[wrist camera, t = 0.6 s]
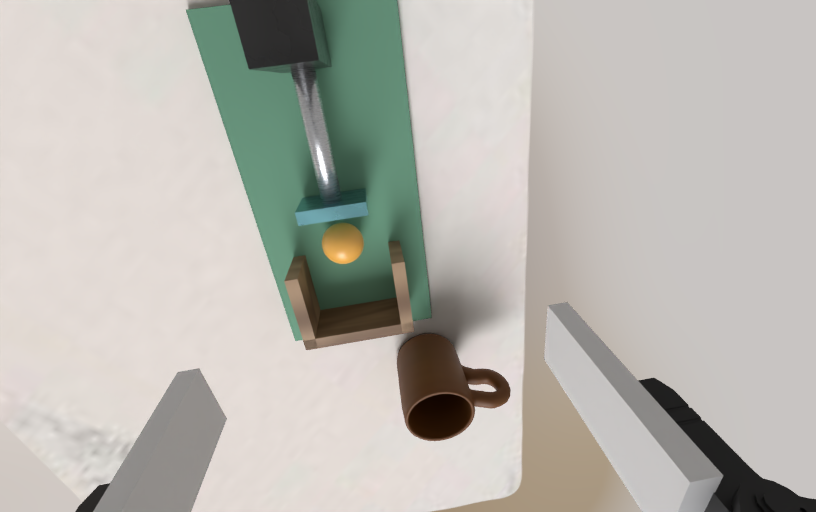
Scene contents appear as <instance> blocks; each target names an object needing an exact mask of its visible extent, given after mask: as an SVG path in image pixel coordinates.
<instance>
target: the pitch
mask: <svg viewBox="0 0 816 512" xmlns="http://www.w3.org/2000/svg"><path fill="white" fill-rule="evenodd" d="M316 1H317V3H318V5H319V6H320V8H321V12H322V18H323V23H324V28H325V33H326V39H327V44H328V49H329V54H330V60H331V65H332V67H328V68H320V69H315V71H316V76H317V80H318V85H319V90H320V95H321V100H322V104H323V109H324V114H325V119H326V124H327V128H328V133H329V138H330V143H331V147H332V152H333V157H334V162H335V167H336V171H337V176H338V181H339V186H340V190H341V192H343V191H350V190H356V189H363V188H366V194H367V199H368V215H367V216H361V217H354V218H347V219H341V220H334V221H328V222H321V223H315V224H308V225H302V226H298V223H297V219H296V215H295V211H296V209H297V207H298V205H299V203H300V201H301V199H302V198H303V197H309V196H316V195H320V192H319V188H318V184H317V180H316V176H315V171H314V167H313V163H312V159H311V154H310V150H309V146H308V142H307V138H306V133H305V129H304V125H303V121H302V116H301V112H300V108H299V104H298V100H297V95H296V91H295V87H294V83H293V78H292V74H291V72H289V73H276V72H267V71H259V70H250V69H249V68H248V65H247V61H246V58H245V54H244V51H243V47H242V44H241V40H240V37H239V33H238V30H237V26H236V23H235V19H234V15H233V12H232V8H231V5H222V6H214V7H206V8H197V9H189V10H186V12H187V15H188V18H189V21H190V24H191V27H192V30H193V33H194V36H195V39H196V42H197V45H198V48H199V51H200V54H201V57H202V60H203V63H204V66H205V69H206V72H207V75H208V78H209V81H210V84H211V87H212V90H213V93H214V96H215V99H216V102H217V105H218V109H219V112H220V115H221V118H222V121H223V124H224V127H225V130H226V133H227V136H228V139H229V142H230V145H231V148H232V151H233V154H234V157H235V160H236V163H237V166H238V169H239V172H240V175H241V178H242V181H243V184H244V187H245V190H246V193H247V196H248V199H249V202H250V205H251V208H252V211H253V214H254V217H255V220H256V223H257V226H258V229H259V232H260V235H261V238H262V241H263V244H264V247H265V250H266V253H267V256H268V259H269V262H270V265H271V268H272V271H273V274H274V277H275V280H276V283H277V286H278V289H279V292H280V295H281V298H282V301H283V305H284V308H285V311H286V314H287V317H288V320H289V323H290V326H291V329H292V332H293V335H294V338H295V341H298V340H303V339H302V336H301V332H300V329H299V326H298V323H297V320H296V317H295V314H294V310H293V307H292V304H291V301H290V298H289V295H288V292H287V289H286V285H285V282H284V280H285V278H286V275H287V273H288V270H289V267H290V265H291V262H292V260H293V257H297V256H303V255H305V256H306V260H307V263H308V267H309V271H310V274H311V278H312V281H313V285H314V289H315V292H316V296H317V299H318V303H319V307H320V310H324V309H330V308H336V307H342V306H348V305H354V304H360V303H366V302H372V301H378V300H384V299H390V298H396V297H397V296H396V290H395V284H394V277H393V271H392V265H391V259H390V252H389V246H388V242H392V241H398V240H399V241H400V245H401V250H402V254H403V258H404V262H405V269H406V276H407V284H408V291H409V298H410V305H411V312H412V319H413V321H416V320H422V319H428V318H432V316H431V307H430V297H429V288H428V279H427V270H426V261H425V252H424V243H423V233H422V224H421V215H420V206H419V197H418V188H417V178H416V169H415V160H414V151H413V142H412V133H411V123H410V114H409V105H408V96H407V87H406V78H405V68H404V59H403V50H402V41H401V32H400V23H399V14H398V4H397V0H316ZM337 223H349V224H352V225H353V226H355V227H356V228H357V229H358V230H359V231H360V232H361V234H362V236H363V240H364V247H363V251H362V253H361V255H360V256H359V257H358V258H357V259H356V260H355V261H353V262H351V263H347V264H338V263H335V262H333V261H331V260H330V259H329V258H328V257H327V256H326V255H325V253H324V251H323V248H322V238H323V235H324V233H325V231H326V230H327V229H328V228H329V227H330V226H332V225H334V224H337Z"/></svg>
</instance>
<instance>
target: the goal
mask: <svg viewBox="0 0 816 512" xmlns="http://www.w3.org/2000/svg"><path fill="white" fill-rule="evenodd" d="M388 246H389V252H390V259H391V265H392V271H393V277H394V284H395V290H396V296H397V297H396V298H390V299H384V300H378V301H372V302H366V303H360V304H354V305H348V306H342V307H336V308H330V309H324V310H320V307H319V303H318V299H317V296H316V292H315V289H314V285H313V281H312V278H311V274H310V271H309V267H308V263H307V260H306V256H305V255H303V256H297V257H293V260H292V262H291V265H290V267H289V270H288V273H287V275H286V278H285V280H284V282H285V285H286V289H287V292H288V295H289V298H290V301H291V304H292V307H293V310H294V314H295V317H296V320H297V323H298V326H299V329H300V332H301V336H302V339H303V342H304V345H305V348H306V350H311V349H317V348H322V347H328V346H334V345H340V344H346V343H352V342H357V341H363V340H369V339H375V338H381V337H387V336H392V335H398V334H404V333H410V332H414V327H413V319H412V312H411V305H410V298H409V291H408V284H407V276H406V269H405V262H404V258H403V254H402V250H401V245H400V241H399V240H398V241H392V242H388Z"/></svg>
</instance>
